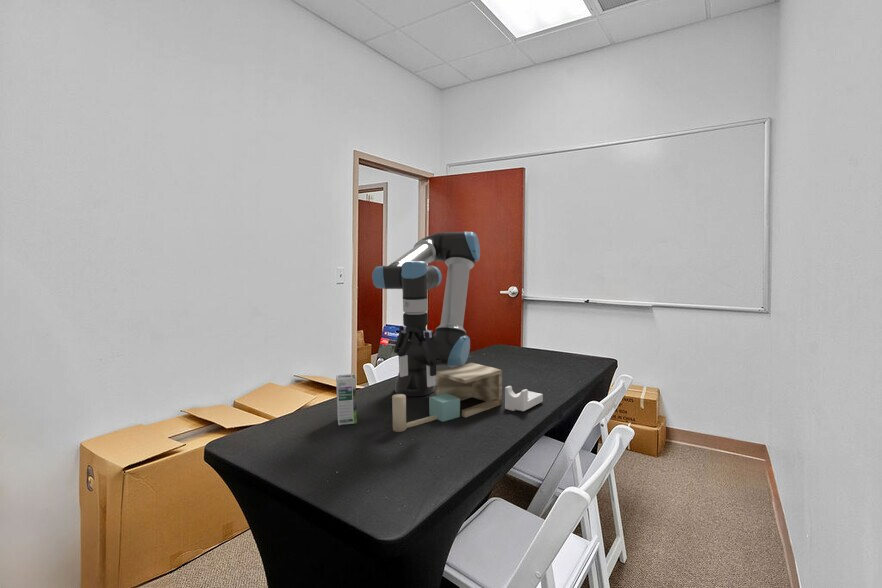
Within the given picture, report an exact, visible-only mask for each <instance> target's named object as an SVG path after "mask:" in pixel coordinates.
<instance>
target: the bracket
mask: <svg viewBox="0 0 882 588" xmlns="http://www.w3.org/2000/svg"><path fill="white" fill-rule="evenodd" d="M543 395H544V394H543V393H538V392H536V391H530V390H528V389H527V388H524V389H522V390H521V391H520V392H518V393H515V392H514V390H513V386H512V385H507V386H505V387H504V409H505V410H508V411H512V412H515V411H520V412H525V411H527V410H529V409H531V408H533V407H535V406H536V405H538V404H541V403H543V401H544V397H543Z"/></svg>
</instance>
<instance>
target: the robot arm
mask: <svg viewBox="0 0 882 588" xmlns="http://www.w3.org/2000/svg"><path fill="white" fill-rule="evenodd" d="M479 241H480V240H479V238H478V235H477V233H475V232H473V231H465V230H464V231H450V232H449V231H446V232H445V231H443V232H442V231H441V232H436V233H432V234H430V235H427V236H425V237H423V238H421V239H420V240H418V241H417V242H415V244H414V246H413V247H412V249H410V250H409V251H407V252H406V253H404V254H402V256H400V257H399V258H397V259H395V261H393V262H391V263H390V264H388V265H381V266H376V267H374V269H373V271H372V273H371V274H372V275H371V279H372V284H373V286H374V287H375V288H376V289H380V290H381V289H382V290H383V289H384V290H402V311H403V312H404V313H403V314H402V323H403V324H402V325H400V326H399V327H398V329H399V330H398V336H397V339H396V342H395V346H394V349H393V352H394V354H397V356H398V371H399V372H398V374H397V378H396V381H395V384H394V392H395V394H404V395H406V397H423V396H427V395H430V394H433V393H435V385H436V371H437V367H447V368H452V367H456V366H460V365H464V364H466V362H467V360H468V357H469V354H470V350H471V339H470V337H469V336H468V335H467V331H466V330H465V328H464V321H465V313H466V312H465V311H466V306H467V294H468V287H469V278H470V270H472V269H473V268H474V267H475V262H479V261H480V258H481V246H480V242H479ZM432 262H444V263H445V264H444V265H446V266H447V272H446V273H447V274H446V280H445V289H444V294H443V295H444V296H443V304H442V310H441V317H440V324H439V326H437V327H436V328H435V330H432V329H431V330H429V329H427V325H429V314H428V311H429V303H428V302H429V300H428V298H429V297H428V290H434V289H435V288H437V287H438V286H439V285H440V284H441V282H442V280H443V279H442V278H443V276H442V272H441V270H440V269H439V268H438V267H437V266H434V265H431V263H432ZM427 264H430V265H427ZM434 331H435V332H434Z"/></svg>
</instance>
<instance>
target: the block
mask: <svg viewBox="0 0 882 588" xmlns="http://www.w3.org/2000/svg"><path fill="white" fill-rule="evenodd" d="M391 399H392V400H391V403H392V410H391V411H392V431H393V432H397V433H401V432H404V431H406V430H407V429H408V428H409V429H410V428H412V427H416V426H419V425H423V424H425V423H426V424H427V423H429V422H432V421H435V420H438V421H440V422H448V421H450V420H454V419H457V418H460V417H461V401H460V398H458V397H455V396H453V395H450V394H447V393H445V394H441V395H437V396H435V395H433V396H430V397H429V398H428V407H429V408H428V409H429V410H428V411H429V412H428V413H429V416H426V417H423V418H419V419H415V420H411V421H408V422H407V396H406V395H404V394H397V393H395V394H393V395H392V396H391Z"/></svg>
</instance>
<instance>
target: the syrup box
mask: <svg viewBox="0 0 882 588" xmlns="http://www.w3.org/2000/svg"><path fill="white" fill-rule="evenodd" d="M356 379H357V378H356V375H355V373H349V374H348V373H347V374H346V373H345V374H336V375H335V381H336V383H335V384H336V410H337V425H338V426H344V425H351V424H358V416H357V415H358V413H357V412H358V409H357V380H356Z"/></svg>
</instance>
